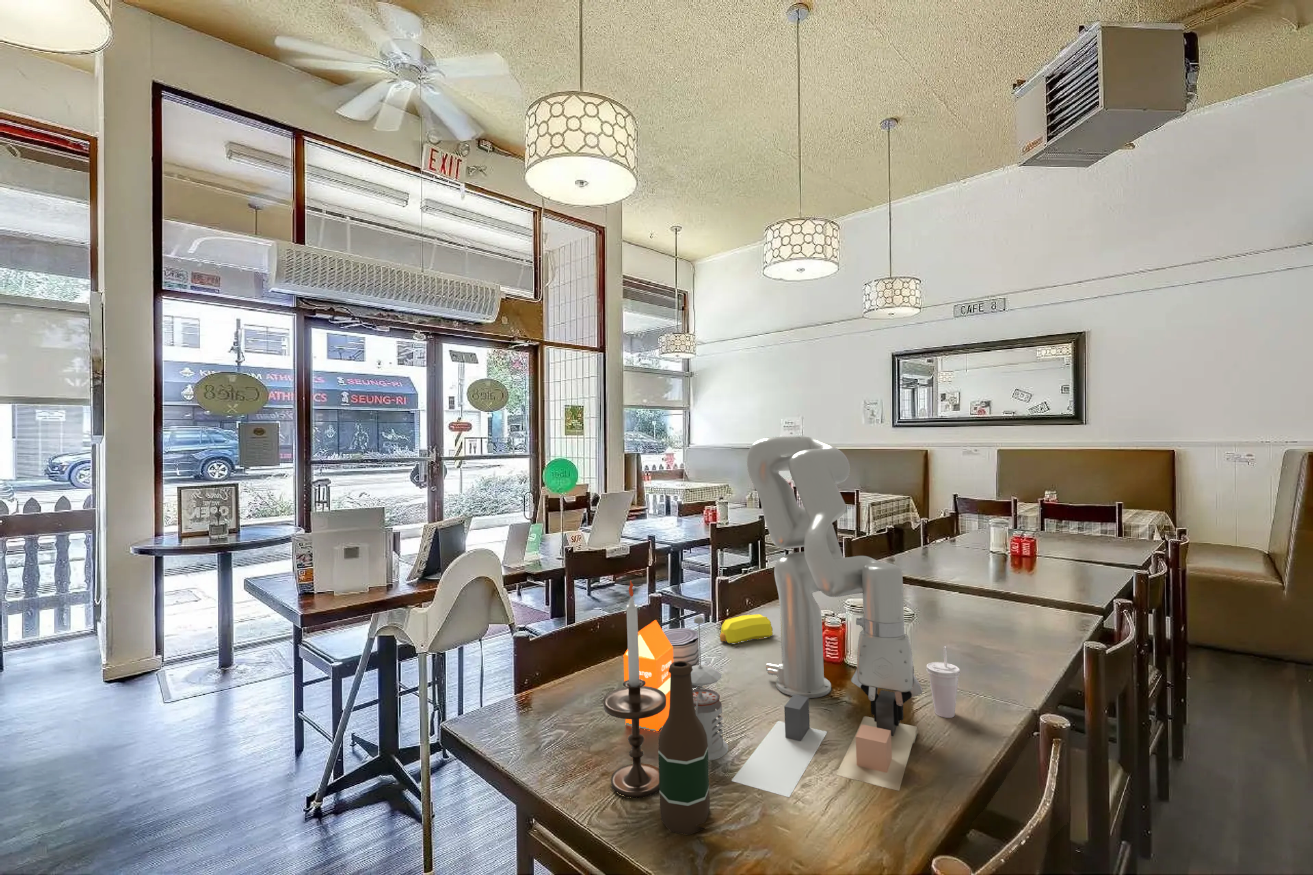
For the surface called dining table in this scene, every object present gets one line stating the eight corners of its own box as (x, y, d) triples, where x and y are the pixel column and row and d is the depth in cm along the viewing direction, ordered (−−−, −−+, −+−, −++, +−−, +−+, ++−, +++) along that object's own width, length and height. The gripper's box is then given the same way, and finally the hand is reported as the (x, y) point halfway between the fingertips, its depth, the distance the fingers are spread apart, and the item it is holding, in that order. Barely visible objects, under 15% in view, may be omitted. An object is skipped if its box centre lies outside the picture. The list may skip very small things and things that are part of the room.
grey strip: (731, 786, 98) (730, 744, 98) (778, 725, 119) (777, 691, 119) (789, 803, 93) (787, 759, 93) (827, 736, 114) (826, 700, 114)
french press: (733, 737, 115) (729, 610, 115) (720, 769, 104) (715, 628, 104) (685, 731, 118) (681, 607, 119) (667, 761, 107) (663, 624, 108)
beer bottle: (658, 806, 94) (653, 656, 94) (706, 802, 94) (701, 653, 95) (662, 838, 86) (657, 675, 86) (714, 833, 87) (709, 671, 87)
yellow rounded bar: (713, 640, 173) (727, 648, 166) (713, 617, 173) (726, 624, 166) (765, 631, 180) (779, 638, 173) (764, 609, 181) (778, 615, 173)
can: (701, 692, 136) (699, 641, 137) (652, 694, 137) (651, 642, 137) (698, 673, 148) (697, 626, 148) (654, 674, 148) (652, 627, 148)
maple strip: (836, 780, 99) (834, 738, 99) (864, 720, 120) (863, 686, 120) (899, 796, 94) (897, 753, 94) (917, 731, 115) (916, 695, 115)
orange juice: (675, 713, 126) (672, 620, 126) (658, 732, 118) (655, 633, 118) (643, 707, 129) (640, 617, 130) (624, 725, 121) (621, 629, 122)
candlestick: (663, 803, 94) (656, 587, 95) (598, 799, 96) (592, 586, 97) (673, 767, 105) (666, 572, 106) (614, 763, 107) (608, 572, 108)
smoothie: (966, 721, 118) (963, 652, 119) (932, 719, 120) (929, 651, 120) (956, 707, 125) (954, 641, 125) (924, 705, 126) (922, 640, 126)
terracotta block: (856, 765, 102) (855, 736, 102) (862, 751, 106) (861, 724, 106) (887, 772, 99) (886, 743, 99) (891, 758, 103) (890, 730, 103)
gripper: (837, 627, 116) (840, 720, 116) (927, 638, 107) (931, 739, 107) (845, 616, 122) (848, 705, 122) (931, 627, 114) (935, 721, 114)
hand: (887, 719), depth 115 cm, fingers closed on maple strip, 3 cm apart
